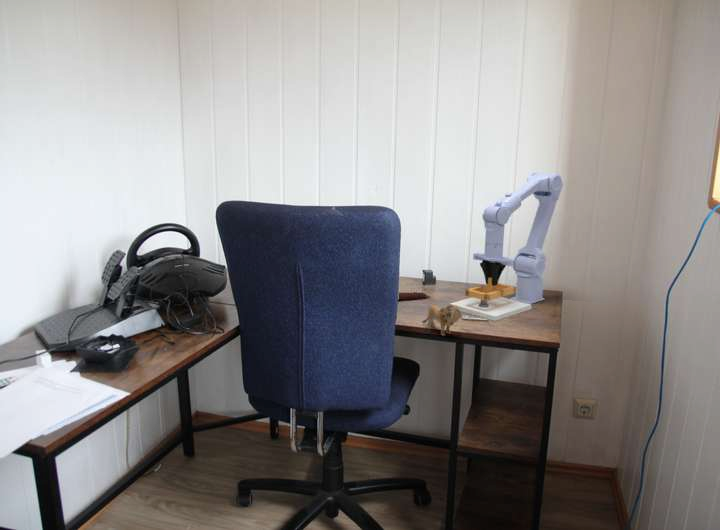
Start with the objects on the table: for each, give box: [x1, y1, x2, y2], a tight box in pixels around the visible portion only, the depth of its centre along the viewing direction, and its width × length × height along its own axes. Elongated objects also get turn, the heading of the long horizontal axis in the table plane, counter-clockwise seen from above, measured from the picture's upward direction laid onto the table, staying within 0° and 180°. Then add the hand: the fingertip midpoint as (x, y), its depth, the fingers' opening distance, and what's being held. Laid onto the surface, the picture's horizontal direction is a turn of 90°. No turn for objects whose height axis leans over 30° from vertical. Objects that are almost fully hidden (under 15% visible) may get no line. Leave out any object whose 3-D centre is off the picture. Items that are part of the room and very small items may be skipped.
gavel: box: [398, 292, 431, 301], centre depth 186 cm, size 21×5×10 cm
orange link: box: [465, 277, 516, 301], centre depth 175 cm, size 16×8×6 cm, turn 131°
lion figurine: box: [422, 304, 464, 337], centre depth 154 cm, size 15×5×9 cm, turn 37°
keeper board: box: [449, 296, 532, 322], centre depth 176 cm, size 20×18×5 cm
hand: (491, 284), depth 175 cm, fingers closed on orange link
